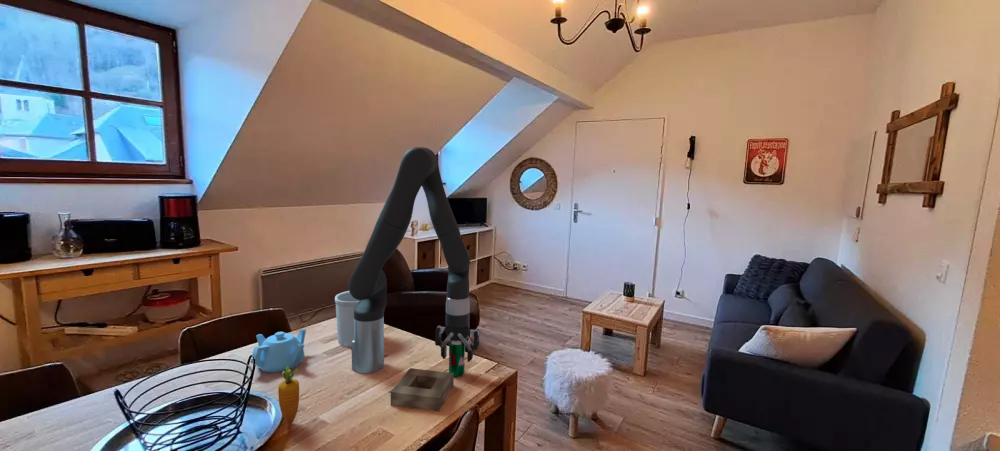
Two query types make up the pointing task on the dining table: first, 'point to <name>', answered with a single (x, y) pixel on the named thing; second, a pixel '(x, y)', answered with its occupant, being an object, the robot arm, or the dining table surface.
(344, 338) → the utensil holder
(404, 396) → the socket block
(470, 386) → the dining table surface
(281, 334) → the teapot
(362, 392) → the dining table surface
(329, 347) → the dining table surface
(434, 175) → the robot arm
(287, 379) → the carrot
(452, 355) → the soda can
